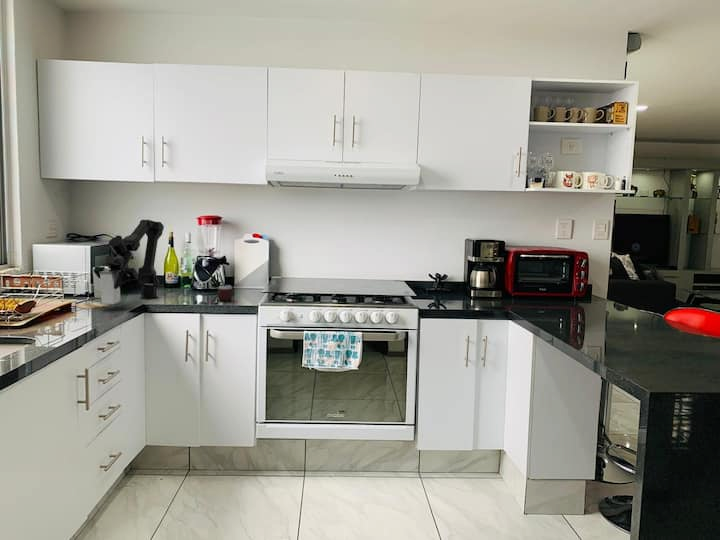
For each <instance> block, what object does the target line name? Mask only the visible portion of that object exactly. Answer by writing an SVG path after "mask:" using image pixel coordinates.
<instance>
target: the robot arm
mask: <svg viewBox="0 0 720 540" xmlns="http://www.w3.org/2000/svg"><path fill="white" fill-rule="evenodd" d="M164 229H165V227H164V224H163V223H162V222H161V221H155V220H152V219H141V220H140V221H139V223H138V225H137V226H136V227H135V229H134V230H133V231H132V233H130V235H127V236H125V237H124V238H123V237H122V236H121V235H115V237H113V238H111V239H110V240H109V241H108V245H109V247H110V248H111V250H112V252H113V253H114V254H115V255H117V256H112V255H111V256H109V255H107V256H106V257H105V261H104V264H106V265H107V267H109V268H110V270H119V278H118V280H117V282H116V284H115V287H114V288H115V289H117V288H118V287H120V288H121V286H123V285H124V284H126V283H127V282H131V281H137V283H138V286H139V287H141V289H140V299H145V300H151V299H158V298H159V296H157V295H158V294H157V292H158V291H157V287H159V286H160V280H159V278H158V276H157V271H156V269H155V262H156V254H157V247H158V240H159V239H160V238H161V236H162V235H163V231H164ZM145 235H146V237H147V240H146V241H147V242H146V247H145V253H144V260H143V265H142V266H141V267H139V268H138V270H136V268H135V267H130V266H129V263H130V261H131V260H134V256H133V253H132V252H137V251H138V250H139V248H140V246H141V243H140V241H141V240H142V239H143V238H144V236H145ZM94 267H95V269H94V273H95V274H96V275H97V277H98V278H100V274H99V272H101V271H105V270H107V269H105V267H106V266H105V267H100V266H94Z"/></svg>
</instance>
